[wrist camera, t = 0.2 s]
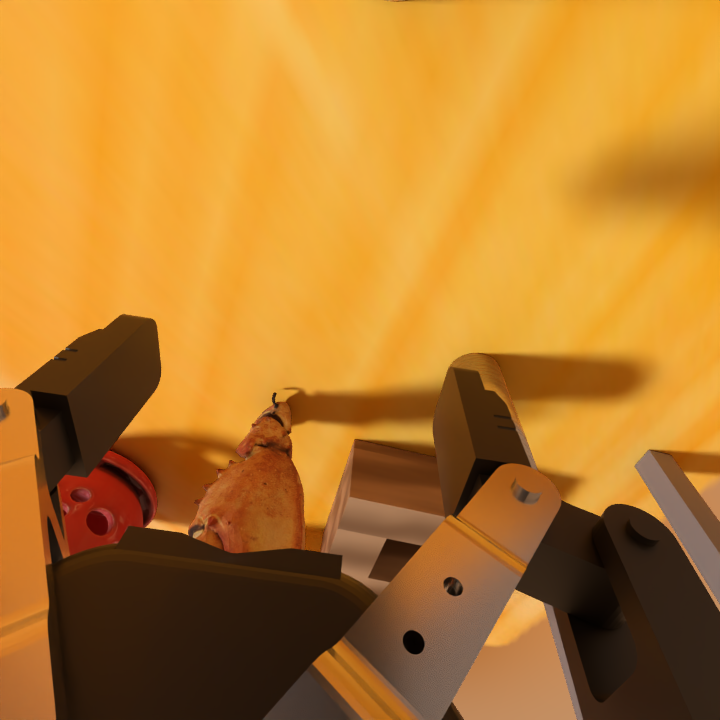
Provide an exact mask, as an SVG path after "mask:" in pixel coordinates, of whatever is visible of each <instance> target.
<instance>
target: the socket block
mask: <svg viewBox="0 0 720 720" xmlns="http://www.w3.org/2000/svg"><path fill="white" fill-rule="evenodd" d="M444 520H445V513H444V507H443V500H442V493H441V486H440V479H439V472H438V465H437V458H436V457H432V456H428V455H423V454H419V453H414V452H410V451H405V450H401V449H396V448H392V447H387V446H383V445H378V444H374V443H369V442H365V441H360V440H356V439H355V440H354V443H353V446H352V449H351V452H350V455H349V458H348V461H347V464H346V467H345V470H344V473H343V476H342V479H341V482H340V485H339V488H338V491H337V494H336V497H335V500H334V503H333V506H332V509H331V512H330V515H329V518H328V521H327V524H326V527H325V530H324V533H323V537H322V544H321V551H320V552H322V553H330V554H337V555H343V557H342V568H341V572H342V573H344V574H346V575H349V576H351V577H353V578H354V579H356V580H358V581H360V582H361V583H363V584H364V585H366V586H367V587H368V588H370V589H371V590H372V591H373V592H374V593H376V594H377V595H378V596H379V595H380V594H381V592H382V591H383V590H384V589H385V588H386V587H387V586H388V584H389V583H390V582H391V581H392V580H393V579H394V577H395V576H396V575H397V574H398V573H399V572H400V571H401V569H402V568H403V567H404V566H405V565H406V564H407V562H408V561H409V560H410V559H411V558H412V557H413V556H414V554H415V553H416V552H417V551H418V550H419V549H420V547H421V546H422V545H423V544H424V543H425V542H426V540H427V539H428V538H429V537H430V536H431V535H432V534H433V532H434V531H435V530H436V529H437V528H438V527H439V525H440V524H441V523H442V522H443V521H444Z"/></svg>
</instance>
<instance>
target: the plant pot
mask: <svg viewBox="0 0 720 720" xmlns="http://www.w3.org/2000/svg"><path fill="white" fill-rule="evenodd" d="M58 486H59V489H60V493H61V499H62V506H63V512H64V519H65V526H66V532H67V539H68V546H69V552H70V555H73V554H76V553H78V552H81V551H84V550H87V549H90V548H94V547H97V546H102V545H107V544H113V543H119V541H120V539H121V538H122V536H123V534H124V533H125V531H126V529H127V528H128V526H135V527H143V528H145V527H146V526H147V525H148V524H149V523H150V522H151V521H152V519H153V518H154V516H155V513H156V510H157V496H156V492H155V489H154V487H153V485H152V483H151V482H150V480H149V478H148V477H147V476H146V475H145V474H144V472H143V471H142V470H141V469H140V468H138V467H137V466H136V465H135V464H134V463H132V462H131V461H129V460H128V459H126V458H125V457H123V456H121V455H119V454H117V453H114V452H112V451H109V450H108V452H107V453H106V454H105V456H104V457H103V458H102V459H101V461H100V462H99V463H98V465H97V466H96V467H95V468H94V470H93V471H92V472H91V474H90V475H89V476H88V477H87V478H85V477H78V476H71V475H65V476H64V477H63V478H62V479H61V480H60V482H59V483H58Z"/></svg>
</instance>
